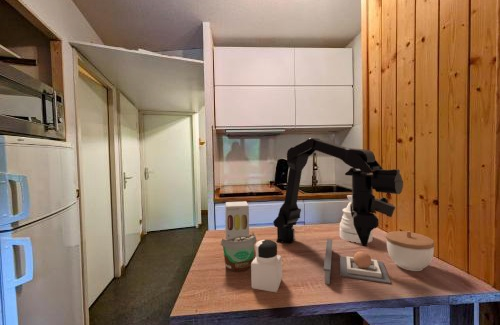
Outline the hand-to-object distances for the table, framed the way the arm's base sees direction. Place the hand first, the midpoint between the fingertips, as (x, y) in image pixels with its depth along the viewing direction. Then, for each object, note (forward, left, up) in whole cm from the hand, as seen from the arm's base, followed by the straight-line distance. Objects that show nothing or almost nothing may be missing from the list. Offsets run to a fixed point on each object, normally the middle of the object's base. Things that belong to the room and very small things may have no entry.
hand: (362, 240), depth 71 cm
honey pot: (0, +29, -9) cm, 31 cm away
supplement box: (-46, +8, -9) cm, 48 cm away
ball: (0, 0, -6) cm, 6 cm away
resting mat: (0, 0, -9) cm, 9 cm away
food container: (-36, -11, -9) cm, 39 cm away
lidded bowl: (+14, +7, -9) cm, 18 cm away
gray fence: (-10, 0, -9) cm, 14 cm away
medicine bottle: (-26, -17, -9) cm, 33 cm away
